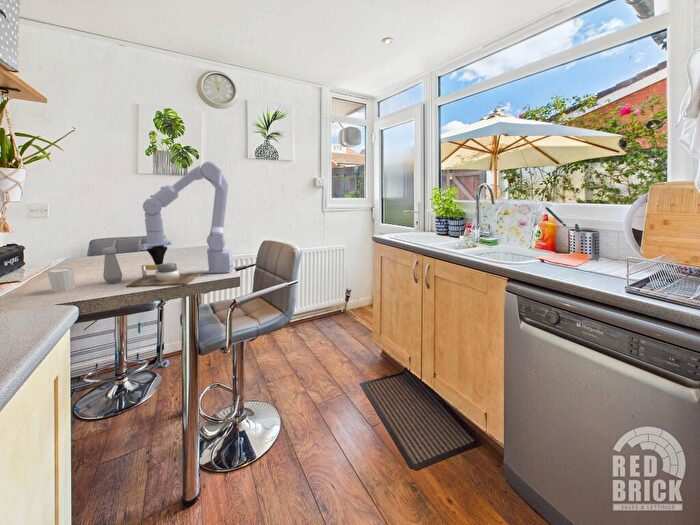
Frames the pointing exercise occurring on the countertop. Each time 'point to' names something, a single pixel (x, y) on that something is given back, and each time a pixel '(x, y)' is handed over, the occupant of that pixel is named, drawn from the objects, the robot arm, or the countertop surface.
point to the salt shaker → (111, 266)
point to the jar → (167, 275)
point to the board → (182, 280)
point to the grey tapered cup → (62, 279)
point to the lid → (162, 267)
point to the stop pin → (144, 275)
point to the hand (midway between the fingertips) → (159, 265)
